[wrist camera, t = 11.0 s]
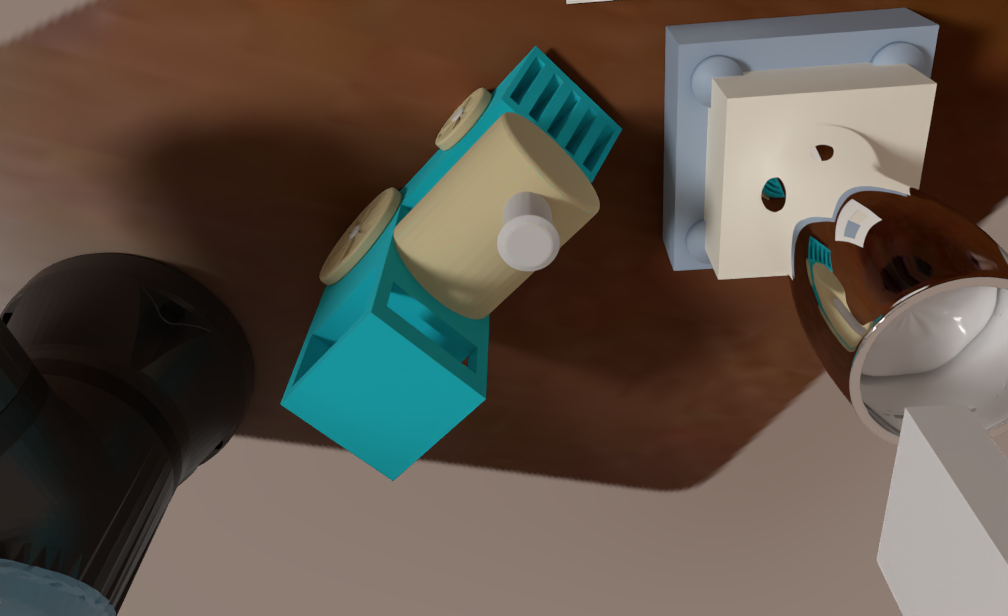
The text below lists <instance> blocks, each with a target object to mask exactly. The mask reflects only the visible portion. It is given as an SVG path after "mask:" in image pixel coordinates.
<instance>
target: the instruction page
mask: <svg viewBox="0 0 1008 616" xmlns="http://www.w3.org/2000/svg"><path fill="white" fill-rule="evenodd" d="M598 1H611V0H566V3H567V4H572V3H585V2H598Z"/></svg>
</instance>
